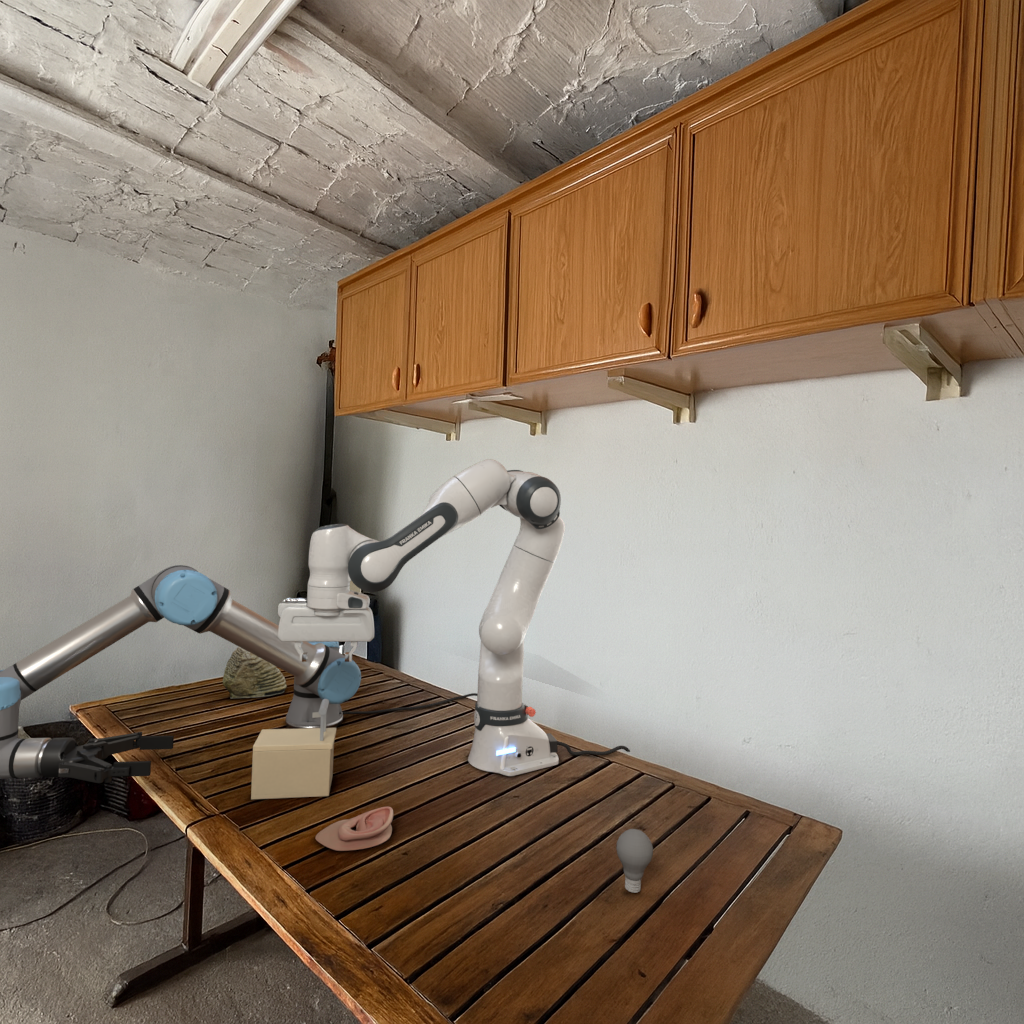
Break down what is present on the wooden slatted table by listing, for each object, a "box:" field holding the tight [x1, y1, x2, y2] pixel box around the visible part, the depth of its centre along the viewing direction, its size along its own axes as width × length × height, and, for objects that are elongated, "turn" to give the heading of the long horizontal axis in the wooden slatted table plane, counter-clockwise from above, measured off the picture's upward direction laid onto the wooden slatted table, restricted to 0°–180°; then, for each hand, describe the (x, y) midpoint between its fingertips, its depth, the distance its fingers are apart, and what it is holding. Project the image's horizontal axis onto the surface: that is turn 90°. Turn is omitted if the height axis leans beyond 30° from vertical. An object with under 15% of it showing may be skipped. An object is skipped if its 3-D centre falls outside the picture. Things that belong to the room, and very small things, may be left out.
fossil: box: [222, 646, 288, 699], centre depth 198 cm, size 9×18×15 cm, turn 132°
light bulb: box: [615, 828, 654, 894], centre depth 106 cm, size 6×6×10 cm
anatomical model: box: [315, 806, 394, 852], centre depth 119 cm, size 13×4×12 cm
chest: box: [250, 744, 335, 800], centre depth 137 cm, size 16×10×10 cm, turn 101°
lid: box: [252, 699, 337, 752], centre depth 137 cm, size 16×10×8 cm, turn 101°
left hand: (162, 754), depth 132 cm, fingers open, 13 cm apart
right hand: (326, 661), depth 138 cm, fingers open, 8 cm apart
